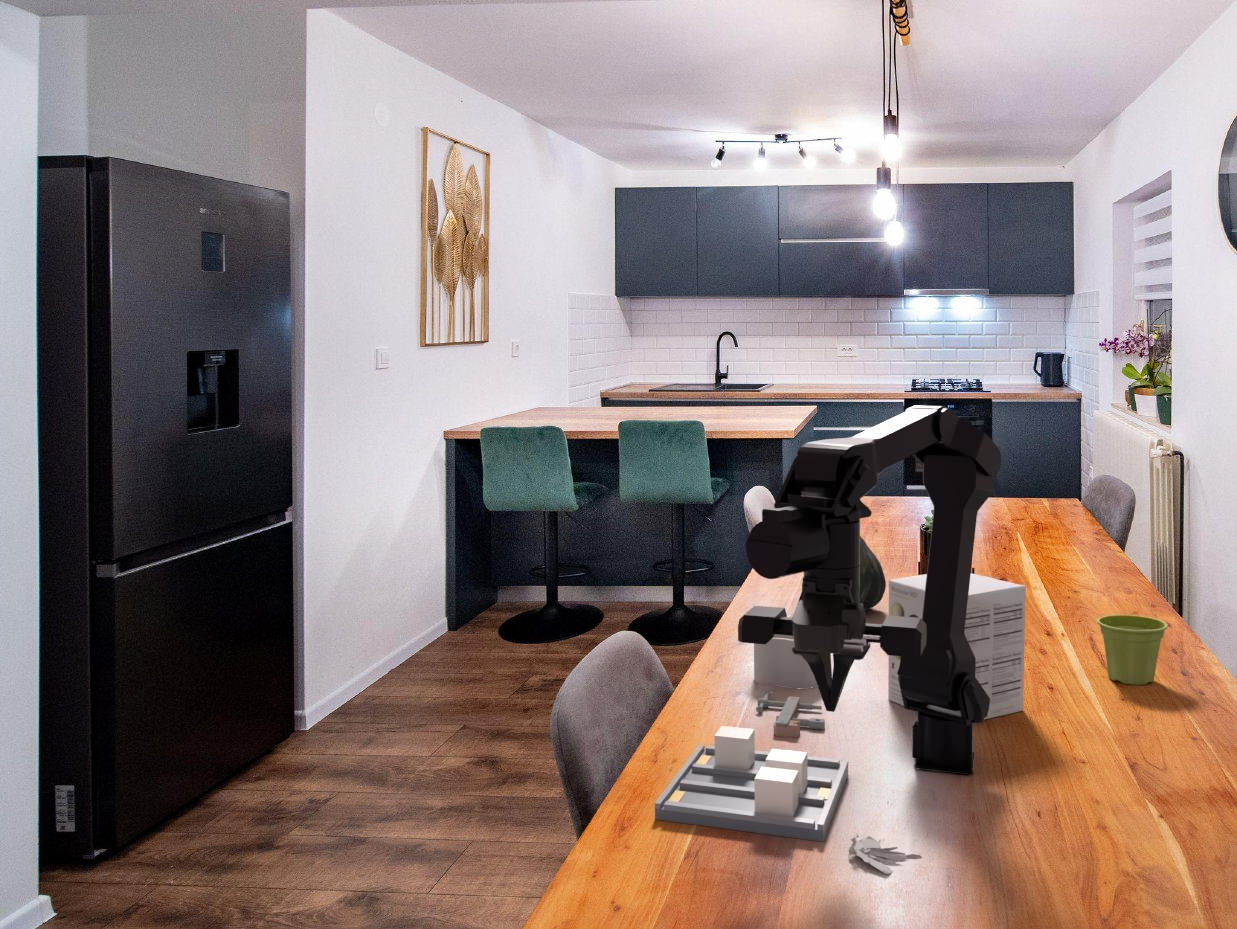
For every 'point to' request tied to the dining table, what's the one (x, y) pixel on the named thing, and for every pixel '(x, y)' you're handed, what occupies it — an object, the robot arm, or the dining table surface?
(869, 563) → the squash
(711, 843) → the dining table surface
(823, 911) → the dining table surface
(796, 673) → the lumpy-topped squat cylinder
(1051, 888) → the dining table surface
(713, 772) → the grey tray
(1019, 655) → the supplement box
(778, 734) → the clamp
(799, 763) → the beige block
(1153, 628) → the plant pot
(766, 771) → the beige block
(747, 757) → the white block
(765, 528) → the robot arm
